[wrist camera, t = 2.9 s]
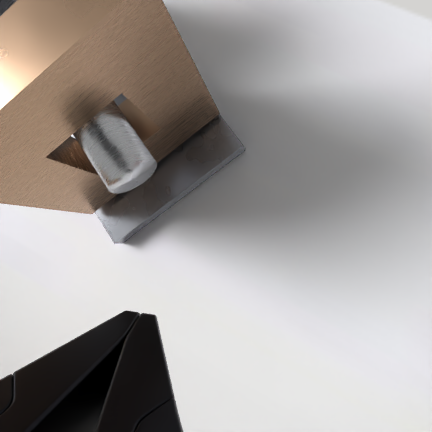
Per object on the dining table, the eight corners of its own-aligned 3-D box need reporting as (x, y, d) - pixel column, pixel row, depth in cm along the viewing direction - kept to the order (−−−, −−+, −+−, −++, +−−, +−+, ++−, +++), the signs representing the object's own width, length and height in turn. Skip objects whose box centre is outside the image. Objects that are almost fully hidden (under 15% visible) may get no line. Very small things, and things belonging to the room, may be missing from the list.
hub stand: (245, 149, 20) (199, 44, 9) (122, 243, 21) (-48, 249, 10) (124, -10, 22) (-26, -244, 11) (21, 82, 23) (-201, -50, 13)
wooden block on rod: (219, 113, 19) (149, -24, 9) (91, 214, 20) (-93, 192, 10) (196, 82, 19) (104, -82, 9) (72, 182, 20) (-123, 132, 11)
